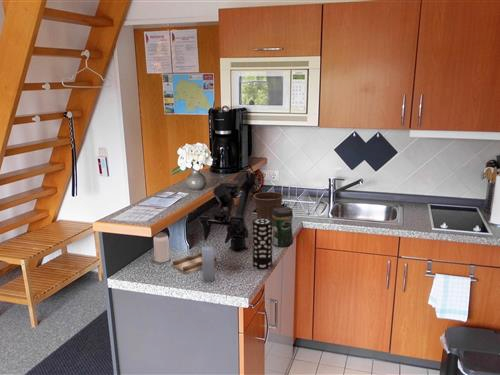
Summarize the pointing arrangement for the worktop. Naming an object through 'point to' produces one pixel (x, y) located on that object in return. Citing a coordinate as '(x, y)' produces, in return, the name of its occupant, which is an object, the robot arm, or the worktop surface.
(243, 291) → the worktop surface
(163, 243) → the can
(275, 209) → the coffee jar
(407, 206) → the worktop surface
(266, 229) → the white-spotted black cylinder
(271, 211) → the plant pot
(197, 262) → the track
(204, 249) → the grey translucent cylinder
